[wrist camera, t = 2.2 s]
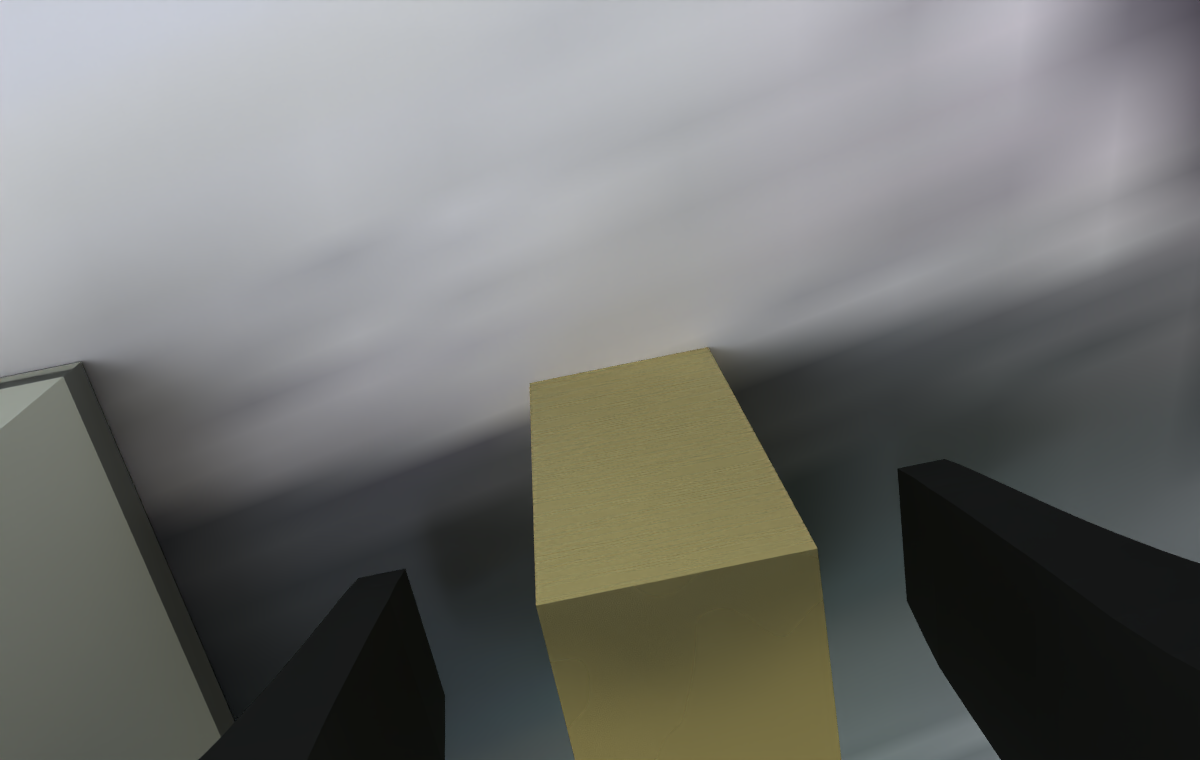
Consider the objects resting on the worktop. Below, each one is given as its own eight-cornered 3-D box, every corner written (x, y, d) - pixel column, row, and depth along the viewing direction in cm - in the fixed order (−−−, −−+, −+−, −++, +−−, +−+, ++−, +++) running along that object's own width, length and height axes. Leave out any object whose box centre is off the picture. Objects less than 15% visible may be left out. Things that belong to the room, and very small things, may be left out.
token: (752, 647, 14) (863, 954, 10) (598, 680, 14) (636, 1000, 10) (707, 346, 13) (817, 548, 8) (529, 382, 13) (536, 605, 8)
